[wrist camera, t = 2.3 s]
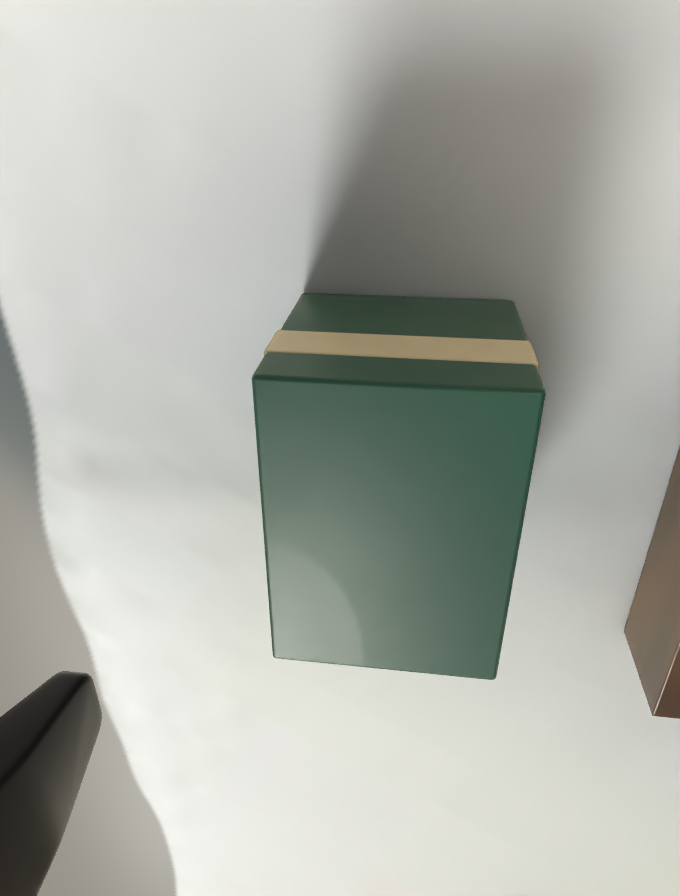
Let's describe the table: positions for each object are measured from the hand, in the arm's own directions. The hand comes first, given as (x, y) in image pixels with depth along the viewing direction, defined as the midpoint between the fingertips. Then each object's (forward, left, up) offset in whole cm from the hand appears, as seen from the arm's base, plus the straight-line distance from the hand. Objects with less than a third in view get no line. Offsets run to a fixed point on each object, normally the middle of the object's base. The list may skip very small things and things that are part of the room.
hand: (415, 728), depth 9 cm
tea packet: (-1, +1, -9) cm, 9 cm away
